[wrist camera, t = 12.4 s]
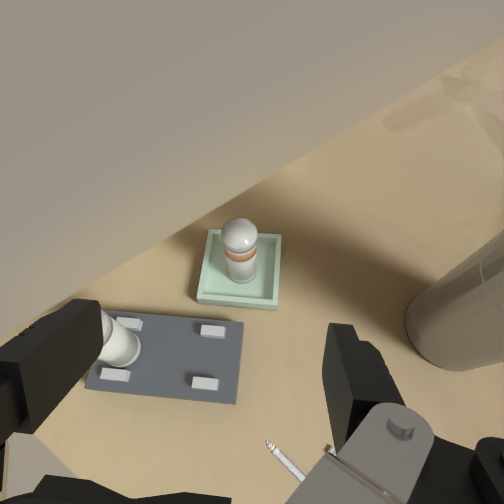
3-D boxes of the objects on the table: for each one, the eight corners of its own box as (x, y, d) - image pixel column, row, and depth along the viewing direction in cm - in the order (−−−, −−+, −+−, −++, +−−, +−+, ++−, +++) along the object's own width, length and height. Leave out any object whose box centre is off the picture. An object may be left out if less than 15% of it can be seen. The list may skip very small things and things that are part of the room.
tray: (280, 242, 43) (281, 234, 41) (276, 310, 39) (277, 305, 37) (210, 236, 43) (208, 228, 42) (199, 303, 39) (196, 298, 37)
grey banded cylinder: (257, 258, 41) (258, 219, 33) (255, 285, 40) (255, 250, 32) (229, 256, 41) (223, 216, 33) (225, 282, 40) (218, 247, 32)
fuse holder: (243, 328, 38) (242, 319, 34) (235, 404, 34) (234, 402, 31) (115, 316, 38) (103, 306, 35) (94, 390, 35) (78, 387, 32)
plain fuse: (145, 334, 35) (113, 308, 27) (137, 369, 33) (100, 353, 25) (112, 330, 35) (71, 304, 27) (102, 366, 34) (55, 348, 26)
